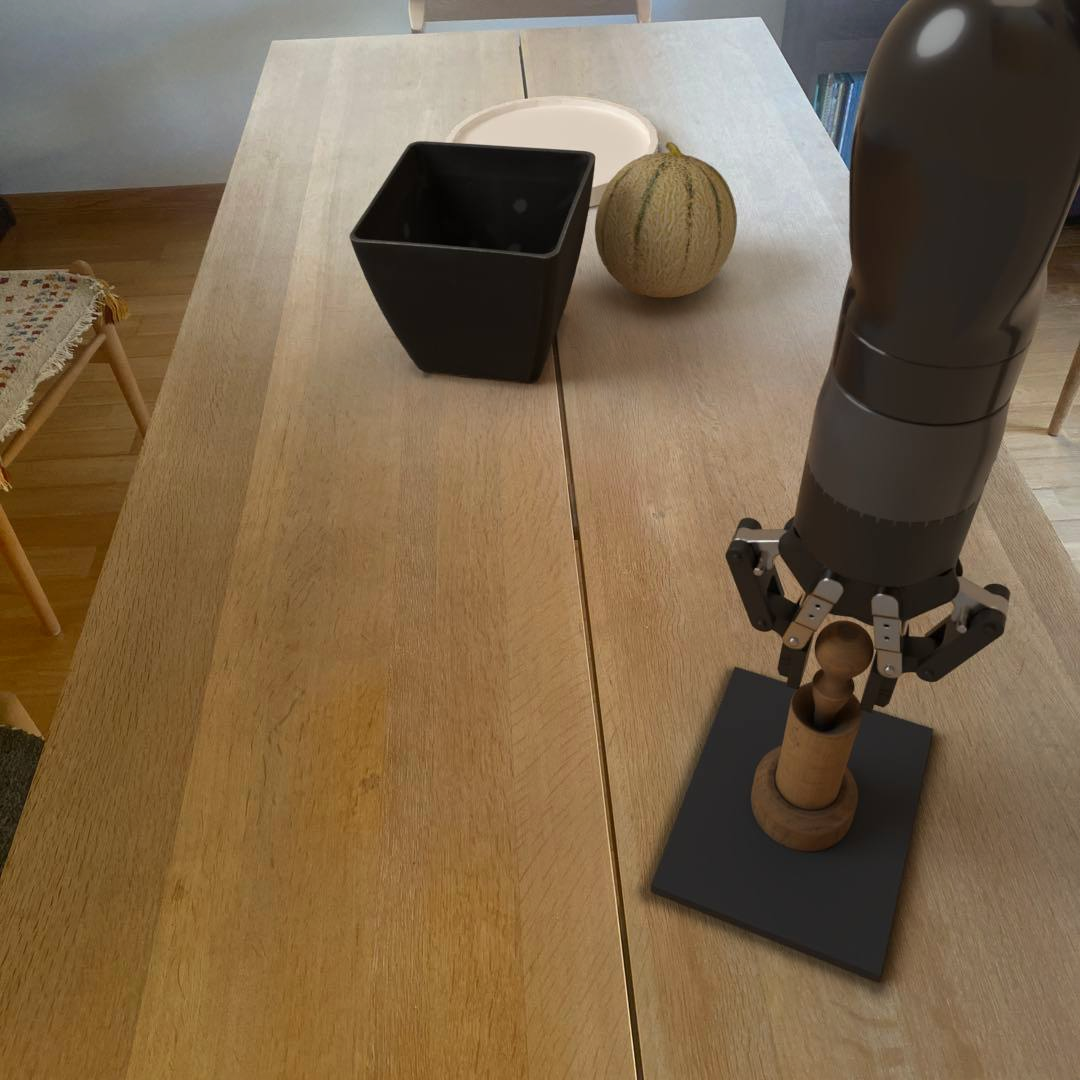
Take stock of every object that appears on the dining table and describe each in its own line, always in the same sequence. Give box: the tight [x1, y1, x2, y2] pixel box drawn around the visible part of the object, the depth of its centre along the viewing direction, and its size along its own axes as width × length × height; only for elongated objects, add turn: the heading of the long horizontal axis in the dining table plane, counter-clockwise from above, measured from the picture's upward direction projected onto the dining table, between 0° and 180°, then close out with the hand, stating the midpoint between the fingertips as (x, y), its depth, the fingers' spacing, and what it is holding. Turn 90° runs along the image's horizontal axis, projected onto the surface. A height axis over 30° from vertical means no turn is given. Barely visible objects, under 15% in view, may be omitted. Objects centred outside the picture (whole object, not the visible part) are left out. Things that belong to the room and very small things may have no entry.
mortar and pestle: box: [751, 619, 875, 851], centre depth 58 cm, size 7×6×18 cm
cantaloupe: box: [594, 141, 738, 298], centre depth 104 cm, size 15×15×15 cm
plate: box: [444, 95, 659, 208], centre depth 131 cm, size 28×28×2 cm
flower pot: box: [348, 140, 595, 384], centre depth 97 cm, size 19×19×17 cm
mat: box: [650, 666, 934, 983], centre depth 65 cm, size 14×18×1 cm
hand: (832, 686), depth 55 cm, fingers open, 3 cm apart
